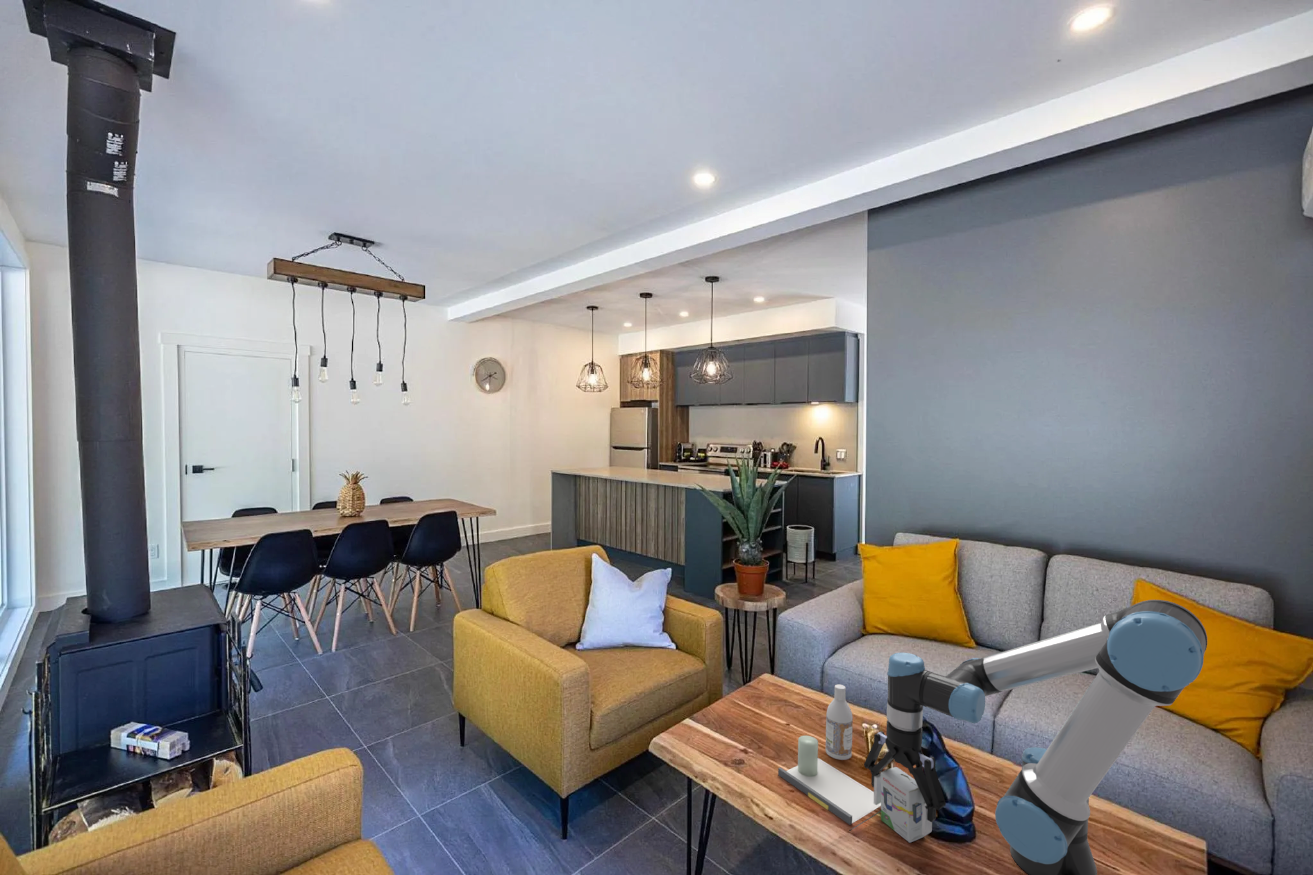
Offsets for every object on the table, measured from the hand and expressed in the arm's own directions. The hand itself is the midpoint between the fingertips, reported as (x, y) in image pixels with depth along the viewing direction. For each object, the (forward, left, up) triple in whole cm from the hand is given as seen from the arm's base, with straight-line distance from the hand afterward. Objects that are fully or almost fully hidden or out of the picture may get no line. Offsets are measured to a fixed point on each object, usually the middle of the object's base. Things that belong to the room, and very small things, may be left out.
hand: (901, 816), depth 131 cm
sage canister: (+25, +3, -1) cm, 25 cm away
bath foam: (+26, -11, -3) cm, 28 cm away
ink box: (0, 0, -3) cm, 3 cm away
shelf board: (+17, +3, -3) cm, 17 cm away
